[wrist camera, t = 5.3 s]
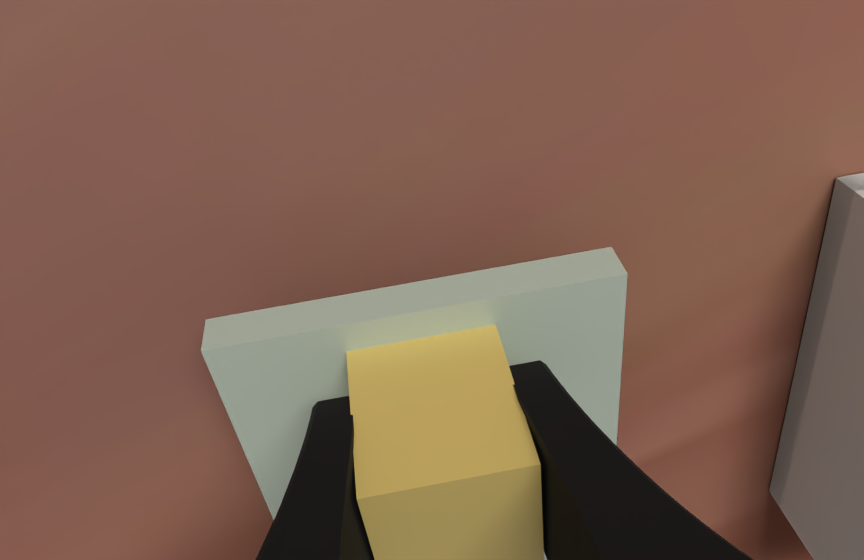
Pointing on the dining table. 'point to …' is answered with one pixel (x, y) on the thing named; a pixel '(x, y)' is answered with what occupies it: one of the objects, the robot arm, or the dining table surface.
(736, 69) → the dining table surface
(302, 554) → the robot arm
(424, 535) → the lid
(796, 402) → the tub
